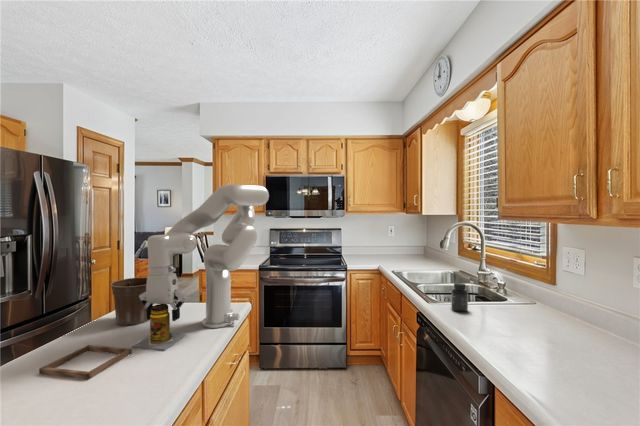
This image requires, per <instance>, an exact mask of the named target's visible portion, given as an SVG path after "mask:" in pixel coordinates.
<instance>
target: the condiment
mask: <svg viewBox="0 0 640 426" xmlns="http://www.w3.org/2000/svg"><path fill="white" fill-rule="evenodd" d="M170 314H171V313H170V312H169V304H154V305H153V307H152V308H151V315H150V320H149V336H150V337H149V336H147V337H148V342H149V346H152V345H158V344H162V343H167V342H171V341H173V338H172V335H171V333H172V332H171V326H170V325H171V320H170V319H171V318H170Z"/></svg>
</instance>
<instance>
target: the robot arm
mask: <svg viewBox="0 0 640 426" xmlns="http://www.w3.org/2000/svg"><path fill="white" fill-rule="evenodd" d="M269 197H270V194H269V190H268V189H267V188H266V187H264V186H263V185H253V184H252V185H251V184H238V183H237V184H224V185H221V186H219V187H218V188H217V189H216V190H215V191H214V192H213V193H212V194H210V196H209V197H208V198H207V199H206V200H205V201H204V202H203V203H202V204H201V205H200V206H199V207H198V208H195V210H193V211H192V212H190V213H189V214H186V216H184V217H182V218H181V219H180V220H178V221H177V223H175V224H174V225H173V226H172V227H171V228H170V229H169V230H168V231H167V232H166V233H165V234H155V235H150V236H148V238H147V259H148V260H147V262H148V274H147V277H146V278H147V284H146V292H144V293H143V294H141V295H139V297H140V299H141V301H142V304H143V305H144V308H145V309H146V311H147V320H148V321H150V315H151V308H152V307H153V306H154V305H158V304H167V305H170V307H171V308H172V310H171V320H172V322H176V321H177V320H179V319H180V318H181V310H180V309H181V308H182V306H183V304H184V303H185V300H186V298H187V295H185V294H184V293H182V292H180V287H179V286H180V285H179V280H178V276H177V274H176V273H174V272H176V270H177V269H176V267H174V255H185V254H190V253H192V252H193V251H194V250H195V249H196V248H197V246H198V240H197V238H196V236H195V235H194V233H196V232H197V231H199V230H201V229H203V228H206V227H209V226H212V225H214V224H215V223H216V222H218V221H219V220H220V218H221V217H222V216H223V215H224V214H225V212H227V211H228V210H229V209H230V207H232V206H237V211H236V213H235V215H234V216H233V217H232V219H231V221H230V222H229V223H228V225H227V226H226V227H225V228H224V229H223V231H222V234H221V241H222V242H223V244H218V243H217V244H216V243H215V244H212V245H210V246H208V247H207V248H206V249H205V251H204V253H203V263H204V264H203V266H204V269H205V317H204V318H203V319H202V320H201V325H202V327H205V328H209V329H219V328H224V327H227V326H230V325H232V324H233V323H234V322H235V321H240V318H241V317H240V313H234V309H231V307H232V306H231V305H232V300H231V299H232V295H231V291H232V288H231V287H232V285H231V283H232V281H231V279H232V277H231V276H232V275H231V273H230V272H233V271H236V270H238V269H239V268H240V267H241V266H242V265H243V264H244V262H245V260H246V259H247V258H248V256H249V254H250V253H251V251H252V250H253V248H254V247H255V245H256V243H257V240H258V233H257V230H256V229H255V227H254V226H253V225H254V223H255V220H256V213H255V207H258V206H264V205H266V204H267V202H268V201H269ZM254 206H255V207H254Z"/></svg>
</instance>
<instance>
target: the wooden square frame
mask: <svg viewBox="0 0 640 426" xmlns="http://www.w3.org/2000/svg"><path fill="white" fill-rule="evenodd" d="M87 352H88V353H89V352H93V353H102V354H103V353H104V354H114V355H115V356H113V357H112V358H110V359H109V360H107V361H105V362H103V363H102V364H100V365H98V366H96V367H94V368H93V369H91V370H89V371H84V370H75V369H67V368H66V369H65V368H58V367H59V366H62V365H64V364H66V363H68V362H70V361H72V360H73V359H76V358H78V357H79V356H82V355H83V354H85V353H87ZM132 353H133V348H125V347H115V346H104V345H102V346H101V345H93V344H87V345H85V346H83V347H82V348H79V349H77V350H75V351H73V352H71V353H69V354H67V355H64V356H62V357H60V358H59V359H56V360H55V361H51V362H50V363H48V364H46V365H44V366H42V367H40V368H38V373H39V375H45V376H53V377H64V378H70V379H79V380H80V379H81V380H90V379H92V378H94V377H95V376H97V375H99V374H101V373H102V372H103V371H106V370H107V369H109V368H111V367H112V366H114V365H116V364H117V363H118V362H120V361H122V360H123V359H125V358H127V357H128V355H129V356H131V355H132Z"/></svg>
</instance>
